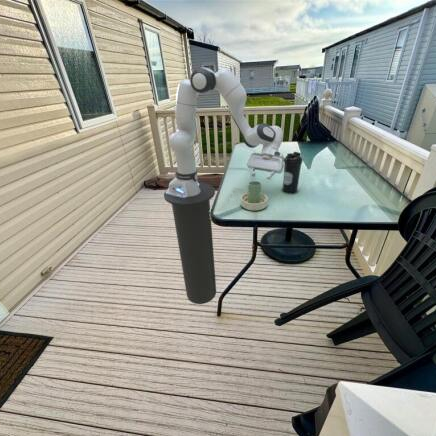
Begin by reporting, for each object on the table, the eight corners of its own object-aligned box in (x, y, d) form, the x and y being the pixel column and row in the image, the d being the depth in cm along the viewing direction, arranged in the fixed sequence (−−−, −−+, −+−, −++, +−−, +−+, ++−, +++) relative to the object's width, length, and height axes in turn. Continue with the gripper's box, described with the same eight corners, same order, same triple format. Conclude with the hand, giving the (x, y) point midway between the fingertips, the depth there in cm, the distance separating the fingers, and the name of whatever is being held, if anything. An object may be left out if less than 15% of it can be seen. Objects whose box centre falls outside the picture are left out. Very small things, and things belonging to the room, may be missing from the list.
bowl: (238, 209, 130) (238, 202, 128) (244, 198, 142) (244, 191, 140) (264, 213, 126) (264, 205, 124) (269, 201, 138) (269, 193, 136)
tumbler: (246, 205, 132) (247, 185, 126) (249, 200, 137) (249, 180, 131) (258, 207, 130) (259, 186, 124) (261, 201, 136) (262, 181, 129)
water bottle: (277, 190, 150) (280, 153, 138) (288, 185, 155) (292, 149, 143) (291, 195, 143) (295, 157, 131) (301, 190, 148) (307, 153, 136)
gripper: (249, 149, 137) (241, 171, 135) (285, 154, 127) (277, 178, 125) (253, 155, 142) (245, 176, 140) (287, 160, 133) (279, 183, 131)
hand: (260, 177), depth 133 cm, fingers open, 8 cm apart
